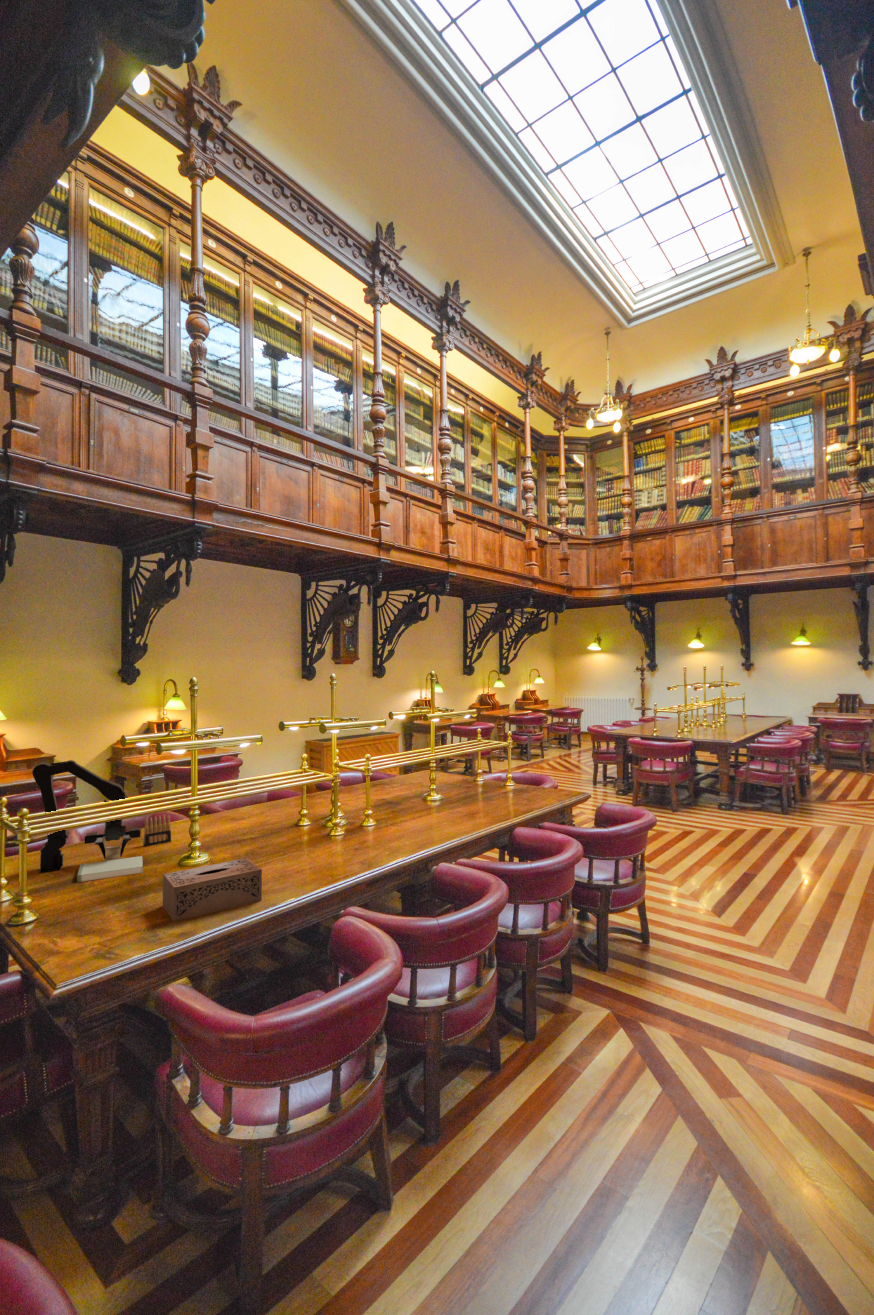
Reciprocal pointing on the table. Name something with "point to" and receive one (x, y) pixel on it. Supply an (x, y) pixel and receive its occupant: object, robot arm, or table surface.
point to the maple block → (112, 853)
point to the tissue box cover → (211, 888)
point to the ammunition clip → (157, 836)
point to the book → (110, 868)
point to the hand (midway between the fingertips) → (112, 857)
